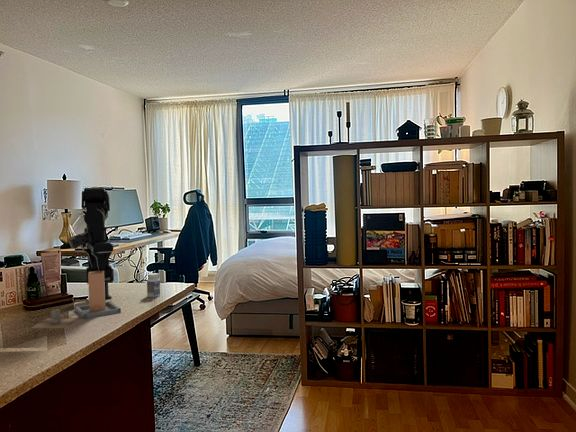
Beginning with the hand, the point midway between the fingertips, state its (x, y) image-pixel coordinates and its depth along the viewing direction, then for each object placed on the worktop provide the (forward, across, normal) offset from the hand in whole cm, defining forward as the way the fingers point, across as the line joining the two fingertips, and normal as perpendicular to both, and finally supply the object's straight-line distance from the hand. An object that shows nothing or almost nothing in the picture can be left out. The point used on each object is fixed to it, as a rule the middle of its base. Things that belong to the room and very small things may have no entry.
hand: (97, 270), depth 147 cm
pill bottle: (+13, -5, +21) cm, 25 cm away
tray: (+13, +7, -2) cm, 15 cm away
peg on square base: (+13, +12, -15) cm, 23 cm away
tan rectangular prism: (+12, +7, -2) cm, 14 cm away
